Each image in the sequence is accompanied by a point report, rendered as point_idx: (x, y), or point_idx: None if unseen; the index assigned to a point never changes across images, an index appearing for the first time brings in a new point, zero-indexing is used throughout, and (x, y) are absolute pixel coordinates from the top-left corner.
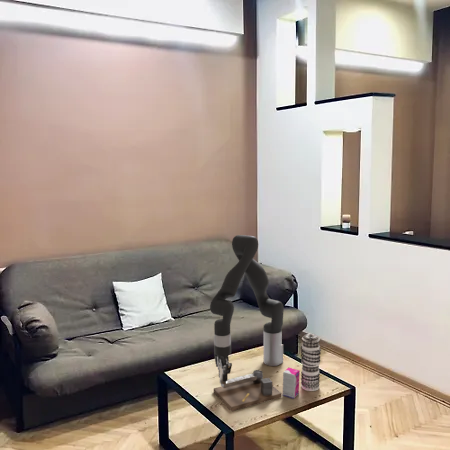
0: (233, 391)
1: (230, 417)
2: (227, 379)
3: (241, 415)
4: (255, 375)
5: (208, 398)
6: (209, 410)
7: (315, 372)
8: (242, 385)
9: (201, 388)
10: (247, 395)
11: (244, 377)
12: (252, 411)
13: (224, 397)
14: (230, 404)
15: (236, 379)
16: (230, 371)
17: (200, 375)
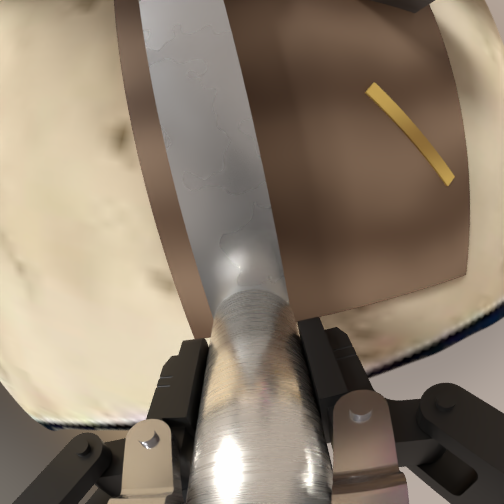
0: (291, 200)
1: (480, 280)
2: (319, 322)
3: (491, 223)
4: None
5: None
6: (387, 365)
7: None
8: None
9: (138, 366)
10: (397, 111)
11: (196, 41)
12: (485, 150)
13: (355, 294)
14: (445, 274)
15: (221, 151)
16: (488, 404)
17: (15, 326)
